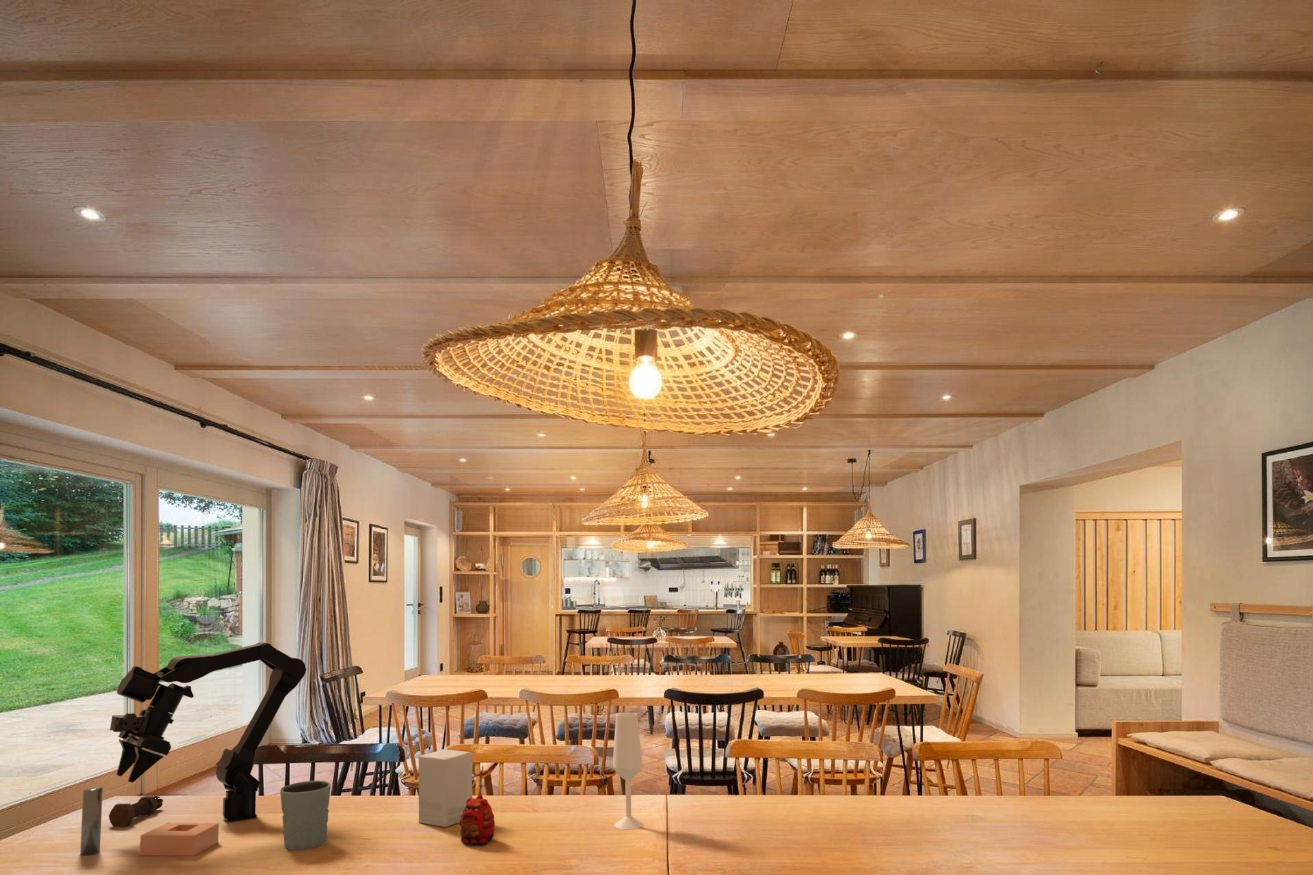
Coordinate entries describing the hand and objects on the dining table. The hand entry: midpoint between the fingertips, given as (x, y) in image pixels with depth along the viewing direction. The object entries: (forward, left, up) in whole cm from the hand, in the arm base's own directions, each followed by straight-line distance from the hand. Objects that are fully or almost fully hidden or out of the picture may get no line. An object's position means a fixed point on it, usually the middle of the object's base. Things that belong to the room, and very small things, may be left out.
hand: (124, 778), depth 211 cm
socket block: (-10, +14, -13) cm, 22 cm away
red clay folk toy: (-64, +48, -14) cm, 81 cm away
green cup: (-33, +27, -14) cm, 45 cm away
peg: (+6, +5, -13) cm, 16 cm away
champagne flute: (-96, +57, -14) cm, 112 cm away
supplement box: (-64, +28, -14) cm, 71 cm away
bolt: (-5, -20, -14) cm, 25 cm away
